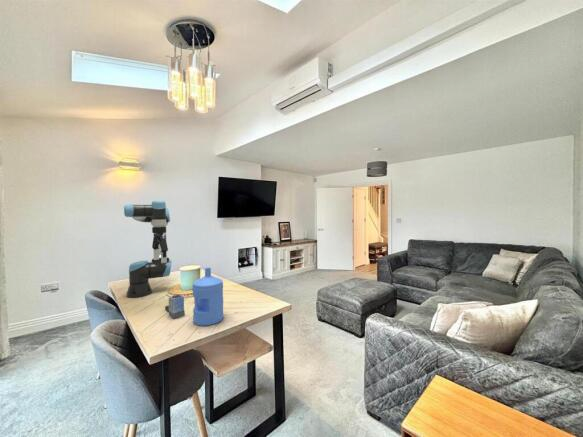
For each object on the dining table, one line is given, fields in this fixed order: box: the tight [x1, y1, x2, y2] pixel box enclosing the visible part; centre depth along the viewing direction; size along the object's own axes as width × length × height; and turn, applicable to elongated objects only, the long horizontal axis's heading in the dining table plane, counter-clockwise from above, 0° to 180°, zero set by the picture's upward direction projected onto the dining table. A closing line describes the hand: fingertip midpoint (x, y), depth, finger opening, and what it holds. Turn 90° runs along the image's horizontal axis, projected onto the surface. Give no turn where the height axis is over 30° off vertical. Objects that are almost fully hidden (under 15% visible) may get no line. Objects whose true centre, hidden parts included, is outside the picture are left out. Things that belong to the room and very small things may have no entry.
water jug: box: [192, 267, 225, 327], centre depth 131 cm, size 16×16×28 cm
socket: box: [168, 293, 185, 314], centre depth 136 cm, size 6×6×8 cm
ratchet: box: [164, 304, 186, 320], centre depth 140 cm, size 17×6×8 cm, turn 46°
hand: (160, 261), depth 148 cm, fingers open, 13 cm apart
